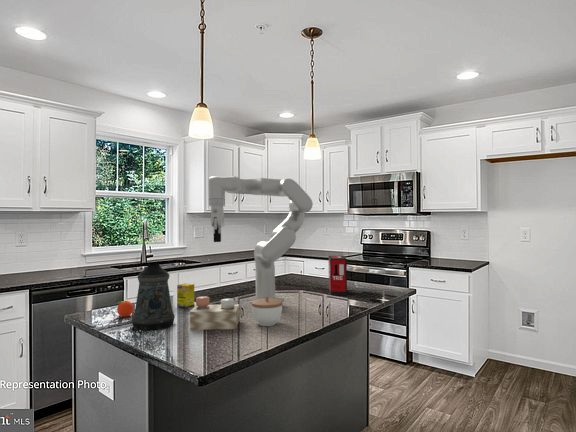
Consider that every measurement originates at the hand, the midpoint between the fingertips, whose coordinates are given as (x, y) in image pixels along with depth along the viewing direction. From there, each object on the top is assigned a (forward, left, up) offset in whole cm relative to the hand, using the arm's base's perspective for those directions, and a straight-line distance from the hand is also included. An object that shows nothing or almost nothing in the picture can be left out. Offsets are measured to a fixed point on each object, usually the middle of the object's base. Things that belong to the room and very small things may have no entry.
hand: (217, 241), depth 188 cm
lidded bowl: (-24, +25, -32) cm, 47 cm away
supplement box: (+17, -8, -32) cm, 37 cm away
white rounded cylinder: (-8, +26, -31) cm, 41 cm away
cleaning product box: (-62, -39, -32) cm, 80 cm away
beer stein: (+23, +24, -32) cm, 46 cm away
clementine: (+40, +10, -32) cm, 52 cm away
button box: (-3, +26, -32) cm, 41 cm away
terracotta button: (+2, +26, -30) cm, 40 cm away
